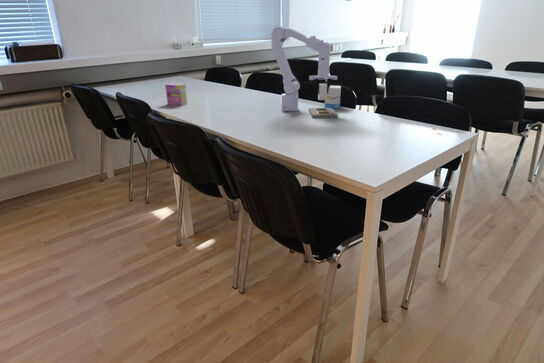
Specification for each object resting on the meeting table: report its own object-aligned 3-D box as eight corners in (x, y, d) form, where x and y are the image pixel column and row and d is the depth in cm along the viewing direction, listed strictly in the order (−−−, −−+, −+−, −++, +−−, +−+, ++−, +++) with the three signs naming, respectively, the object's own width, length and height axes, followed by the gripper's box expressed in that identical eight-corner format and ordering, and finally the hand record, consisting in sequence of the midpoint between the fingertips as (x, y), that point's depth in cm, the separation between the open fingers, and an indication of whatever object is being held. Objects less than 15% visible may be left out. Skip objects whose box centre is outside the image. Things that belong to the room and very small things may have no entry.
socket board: (312, 117, 192) (312, 114, 192) (308, 110, 209) (308, 107, 208) (337, 117, 192) (337, 114, 192) (332, 110, 209) (332, 107, 208)
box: (167, 104, 226) (165, 84, 221) (172, 102, 231) (170, 82, 226) (181, 105, 222) (179, 85, 218) (187, 103, 227) (185, 83, 223)
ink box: (339, 108, 213) (340, 87, 209) (324, 108, 215) (325, 87, 210) (339, 105, 221) (341, 85, 216) (325, 105, 222) (326, 85, 218)
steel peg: (318, 100, 200) (319, 84, 197) (317, 98, 204) (318, 83, 201) (326, 100, 200) (327, 84, 197) (325, 98, 204) (326, 83, 201)
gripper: (310, 68, 192) (309, 95, 197) (338, 68, 192) (337, 94, 197) (309, 66, 198) (308, 92, 204) (336, 66, 199) (335, 92, 204)
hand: (322, 93), depth 201 cm, fingers closed on steel peg, 4 cm apart
